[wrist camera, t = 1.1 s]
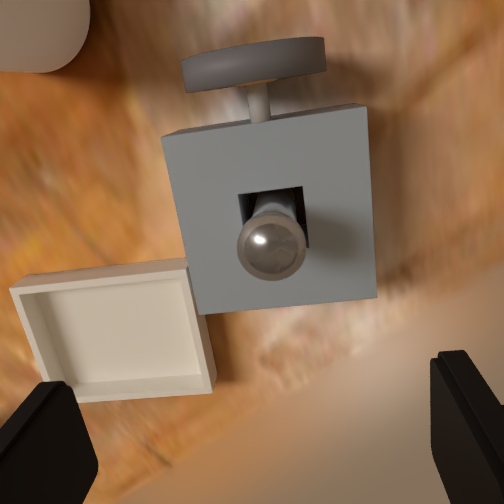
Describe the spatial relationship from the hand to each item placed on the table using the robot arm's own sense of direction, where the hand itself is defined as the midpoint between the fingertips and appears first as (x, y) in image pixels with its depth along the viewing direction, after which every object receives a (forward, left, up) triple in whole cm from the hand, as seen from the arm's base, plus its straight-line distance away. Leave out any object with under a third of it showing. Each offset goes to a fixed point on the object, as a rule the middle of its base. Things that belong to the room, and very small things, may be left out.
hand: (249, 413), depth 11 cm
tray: (+14, +9, -22) cm, 28 cm away
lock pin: (0, 0, -22) cm, 22 cm away
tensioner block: (0, -2, -22) cm, 22 cm away
